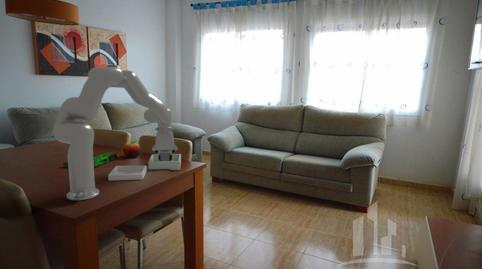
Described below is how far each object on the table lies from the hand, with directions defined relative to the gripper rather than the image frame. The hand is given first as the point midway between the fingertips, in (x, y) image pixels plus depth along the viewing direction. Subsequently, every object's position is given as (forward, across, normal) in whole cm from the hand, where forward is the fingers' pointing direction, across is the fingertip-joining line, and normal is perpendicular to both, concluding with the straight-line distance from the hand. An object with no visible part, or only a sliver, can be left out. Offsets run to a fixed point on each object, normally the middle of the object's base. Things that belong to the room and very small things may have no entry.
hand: (165, 160), depth 179 cm
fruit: (+3, -23, +25) cm, 34 cm away
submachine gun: (+4, -46, +11) cm, 48 cm away
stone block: (0, 0, 0) cm, 0 cm away
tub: (+3, -17, -18) cm, 25 cm away
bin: (+3, 0, 0) cm, 3 cm away
